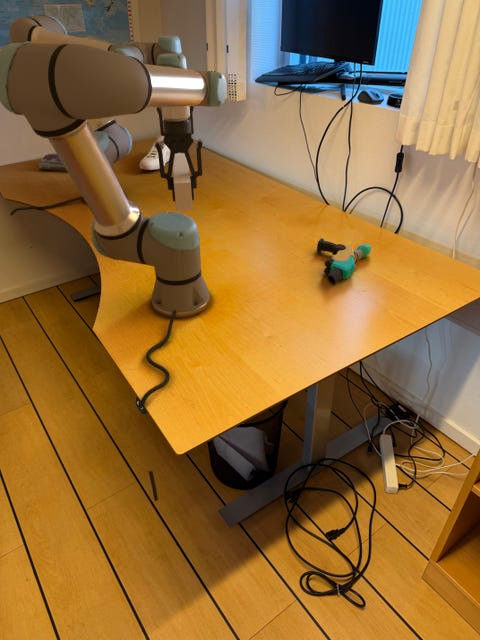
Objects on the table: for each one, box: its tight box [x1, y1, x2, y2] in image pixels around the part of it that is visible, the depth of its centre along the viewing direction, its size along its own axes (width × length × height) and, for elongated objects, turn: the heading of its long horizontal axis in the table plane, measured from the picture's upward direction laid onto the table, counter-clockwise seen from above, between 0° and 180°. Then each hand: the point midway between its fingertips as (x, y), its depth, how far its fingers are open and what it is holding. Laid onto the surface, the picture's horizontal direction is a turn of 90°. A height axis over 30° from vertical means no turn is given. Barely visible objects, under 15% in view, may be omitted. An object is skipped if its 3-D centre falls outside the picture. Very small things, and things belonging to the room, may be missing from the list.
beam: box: [172, 153, 194, 212], centre depth 160 cm, size 60×5×8 cm, turn 8°
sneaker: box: [139, 134, 170, 171], centre depth 214 cm, size 10×29×12 cm, turn 163°
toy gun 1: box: [37, 153, 68, 172], centre depth 215 cm, size 4×19×15 cm
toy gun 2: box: [316, 237, 372, 286], centre depth 138 cm, size 4×26×15 cm
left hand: (179, 153), depth 181 cm, fingers closed on beam, 5 cm apart
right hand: (183, 199), depth 144 cm, fingers closed on beam, 5 cm apart
